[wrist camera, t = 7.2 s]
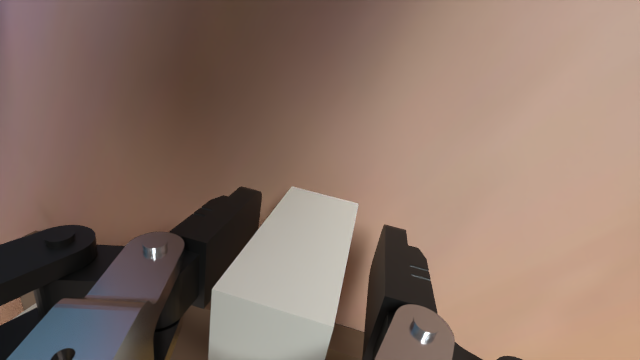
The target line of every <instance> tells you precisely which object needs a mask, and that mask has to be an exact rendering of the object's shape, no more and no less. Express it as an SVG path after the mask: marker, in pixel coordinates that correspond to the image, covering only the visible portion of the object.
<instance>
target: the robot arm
mask: <svg viewBox="0 0 640 360" xmlns="http://www.w3.org/2000/svg"><path fill="white" fill-rule="evenodd" d="M261 200H262V194H261V192H260V191H257V190H253V189H249V188H245V187H239V188H238V189H237V190H236V191H234V192H233V193H232V194H231V195H230V196H224V195H223V196H220V197H218V198H215V199H212V200H210V201H209V202H207V203H206V204H205V205H203V206H202V208H200V209H198V210H197V211H196V212H194V214H192V215H191V216H189V217H188V218H187V219H185V220H184V221H183V222H181V223H180V224H179V225H178V226H176V227H175V228H174V229H172V230H171V231H170V232H151V233H147V234H143V235H140V236H138V237H136V238H134V239H132V240H131V241H130V242H129V243H128V244H127V245H126V246H111V245H96V237H95V232H94V231H93V230H92V229H90V228H88V227H85V226H80V225H65V226H58V227H53V228H49V229H46V230H43V231H40V232H37V233H34V234H31V235H28V236H25V237H22V238H19V239H16V240H13V241H10V242H7V243H4V244H1V245H0V306H1V305H3V304H6V303H8V302H10V301H12V300H14V299H16V298H19V297H21V296H23V295H25V294H27V293H29V292H32V291H33V293H34V297H35V301H36V305H37V307H36V308H34V309H32V310H30V311H28V312H26V313H24V314H22V315H20V316H18V317H16V318H14V319H13V320H11V321H9V322H7V323H5V324H3V325H1V326H0V360H170V358H171V356H172V353H173V350H174V347H175V345H176V342H177V339H178V337H179V334H180V331H181V328H182V326H183V322H184V313H185V312H186V311H187V309H188V308H189V307H190V306H191V305H192V306H195V307H198V308H202V309H204V308H205V307H206V306H207V304H208V303H209V302H210V300H211V296H212V288H213V287H214V286H215V284H216V283H217V282H218V281H219V279H220V278H221V277H222V275H223V274H224V273H225V272H226V270H227V269H228V268H229V266H230V265H231V264H232V263H233V261H234V260H235V259H236V257H237V256H238V255H239V254H240V252H241V251H242V250H243V248H244V247H245V246H246V245H247V243H248V242H249V241H250V239H251V238H252V237H253V236H254V234H255V233H256V232H257V230H258V225H259V217H260V209H261ZM428 270H429V269H428V265H427V260H426V258H425V256H424V255H423V254H422V252H421V251H420V250H419V248H416V247H412V246H409V245H408V243H407V234H406V230H404V229H400V228H396V227H392V226H389V225H384V226H383V229H382V232H381V235H380V238H379V242H378V245H377V248H376V251H375V255H374V258H373V261H372V265H371V269H370V275H369V284H368V296H367V308H366V320H365V332H364V344H363V356H362V360H482V359H480V358H479V357H477V356H475V355H473V354H472V353H470V352H468V351H467V350H465V349H463V348H462V347H461V346H459V345H458V344H457V343H456V342H455V339H454V335H453V332H452V330H451V328H450V327H449V325H448V324H447V323H446V322H445V321H444V319H443V318H441V317H440V316H439V315H438V314H437V309H436V304H435V299H434V294H433V289H432V284H431V281H430V274H429V272H428ZM497 360H522V359H520V358H516V357H512V356H503V357H500V358H498V359H497Z"/></svg>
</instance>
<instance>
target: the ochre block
mask: <svg viewBox="0 0 640 360" xmlns="http://www.w3.org/2000/svg"><path fill="white" fill-rule="evenodd" d="M358 205H359V204H358V203H355V202H351V201H347V200H343V199H339V198H335V197H331V196H327V195H324V194H320V193H316V192H312V191H308V190H304V189H300V188H296V187H293V186H292V187H291V188H290V189H289V190H288V192H287V193H286V194H285V196H284V197H283V198H282V199H281V201H280V202H279V203H278V205H277V206H276V207H275V208H274V210H273V211H272V212H271V214H270V215H269V216H268V218H267V219H266V220H265V221H264V223H263V224H262V225H261V227H260V228H259V229H258V230H257V232H256V233H255V234H254V236H253V237H252V238H251V239H250V241H249V242H248V243H247V245H246V246H245V247H244V248H243V250H242V251H241V252H240V254H239V255H238V256H237V257H236V259H235V260H234V261H233V263H232V264H231V265H230V266H229V268H228V269H227V270H226V272H225V273H224V274H223V275H222V277H221V278H220V279H219V281H218V282H217V283H216V284H215V286H214V287H213V288H212V296H211V315H210V334H209V353H208V360H325V357H326V353H327V350H328V346H329V343H330V339H331V335H332V332H333V328H334V323H335V319H336V314H337V309H338V304H339V299H340V294H341V289H342V284H343V279H344V274H345V269H346V264H347V259H348V254H349V249H350V244H351V239H352V234H353V229H354V224H355V219H356V214H357V210H358Z"/></svg>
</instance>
